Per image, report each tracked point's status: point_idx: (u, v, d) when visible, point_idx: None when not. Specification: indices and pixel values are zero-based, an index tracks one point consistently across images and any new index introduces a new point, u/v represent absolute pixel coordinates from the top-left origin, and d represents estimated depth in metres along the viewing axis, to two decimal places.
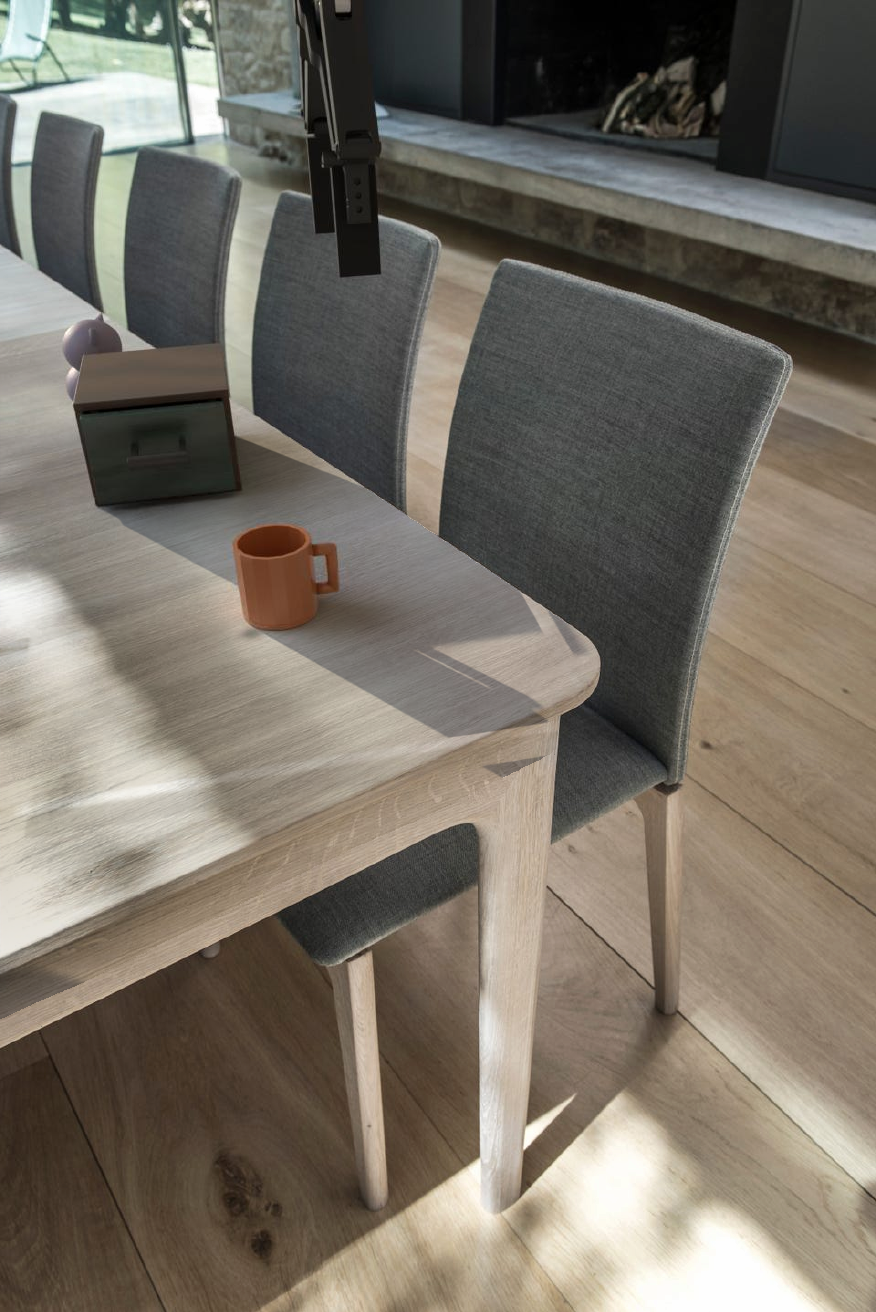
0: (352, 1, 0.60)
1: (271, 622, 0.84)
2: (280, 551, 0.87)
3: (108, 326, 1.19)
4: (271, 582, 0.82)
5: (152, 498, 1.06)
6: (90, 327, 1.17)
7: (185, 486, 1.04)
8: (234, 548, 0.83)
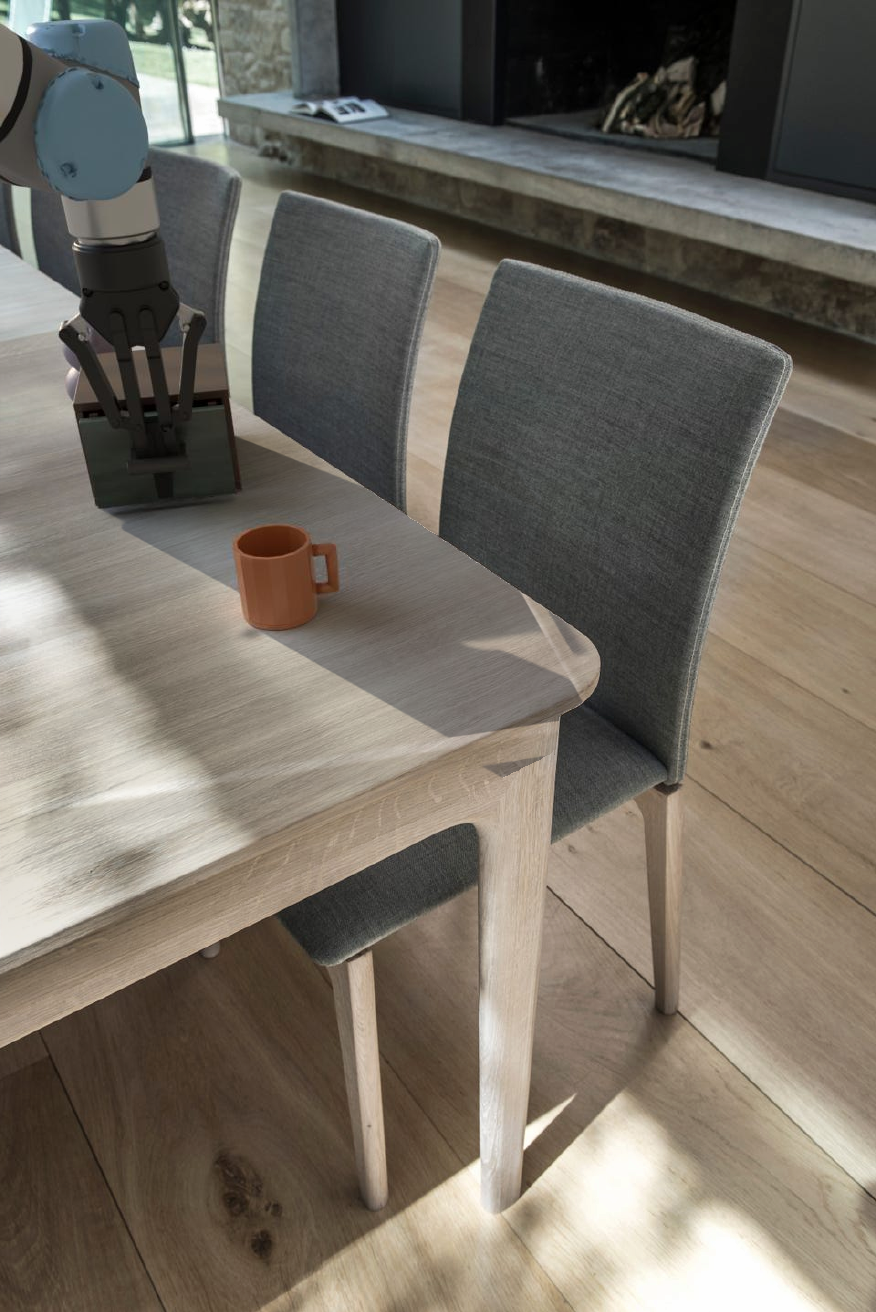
0: None
1: (271, 622, 0.84)
2: (280, 551, 0.87)
3: None
4: (271, 582, 0.82)
5: None
6: (90, 327, 1.17)
7: (185, 490, 1.03)
8: (234, 548, 0.83)
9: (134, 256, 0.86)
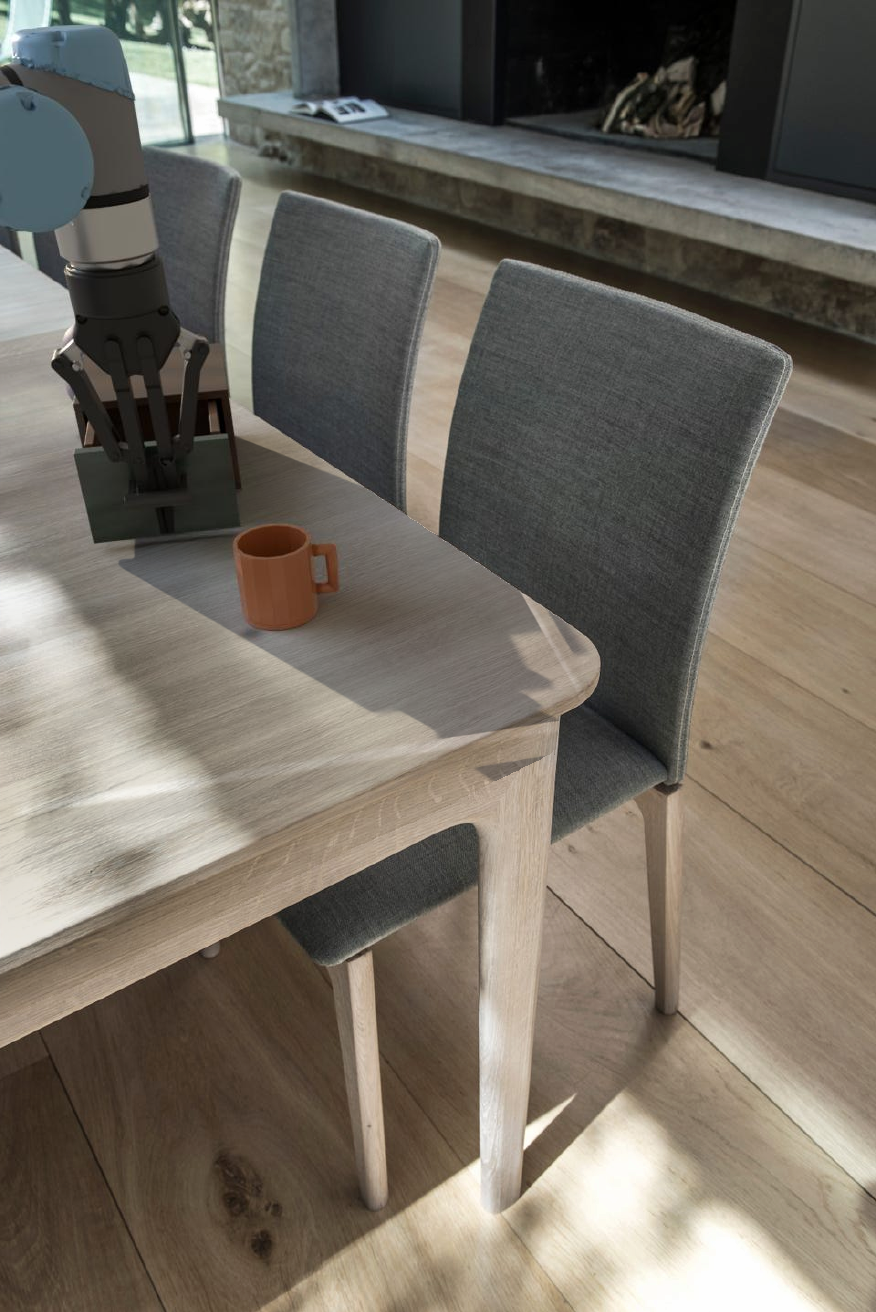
0: None
1: (271, 622, 0.84)
2: (280, 551, 0.87)
3: None
4: (271, 582, 0.82)
5: None
6: None
7: (186, 524, 0.97)
8: (234, 548, 0.83)
9: (131, 281, 0.80)
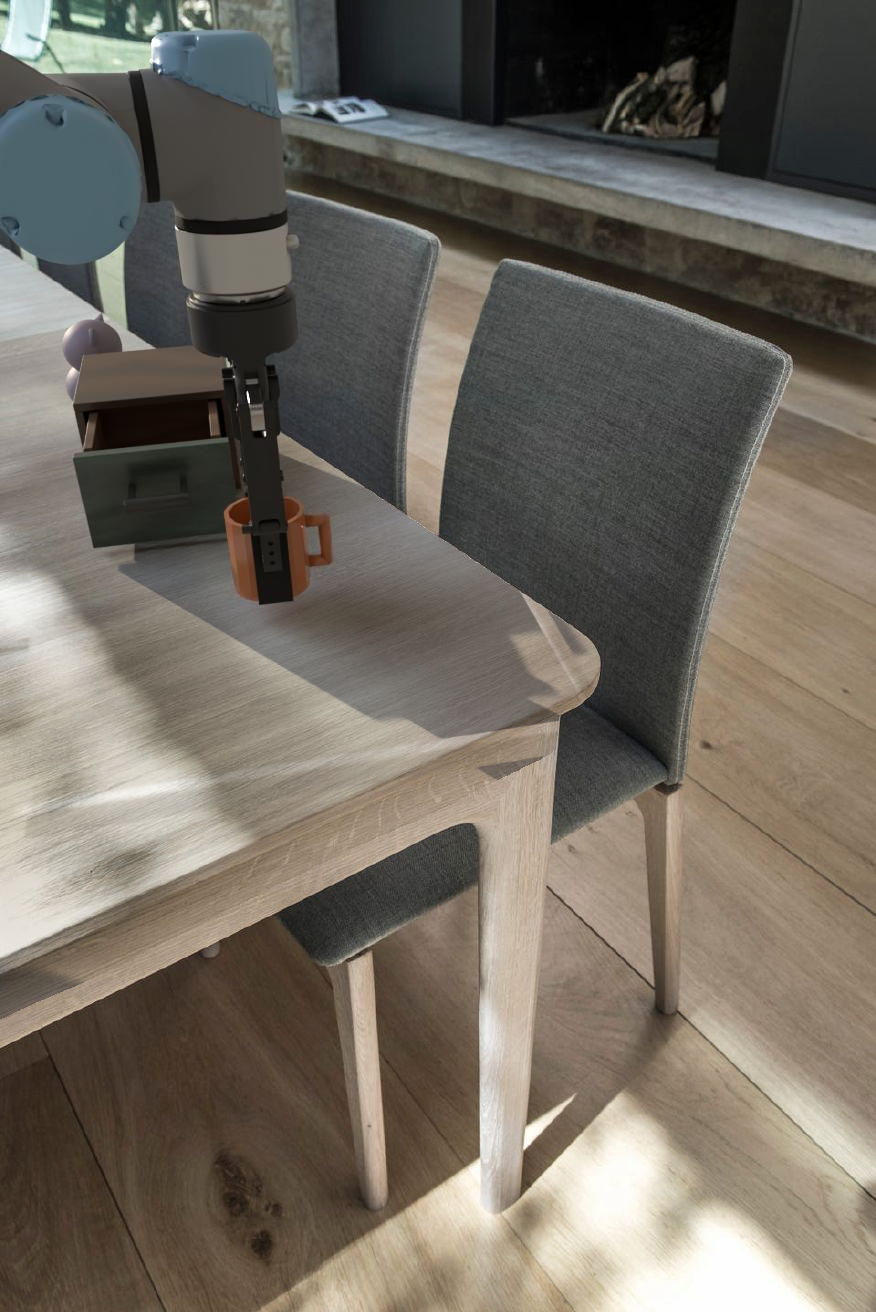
0: (266, 426, 0.72)
1: None
2: None
3: (108, 326, 1.19)
4: None
5: None
6: (90, 327, 1.17)
7: (187, 528, 0.96)
8: (225, 517, 0.81)
9: (191, 313, 0.72)
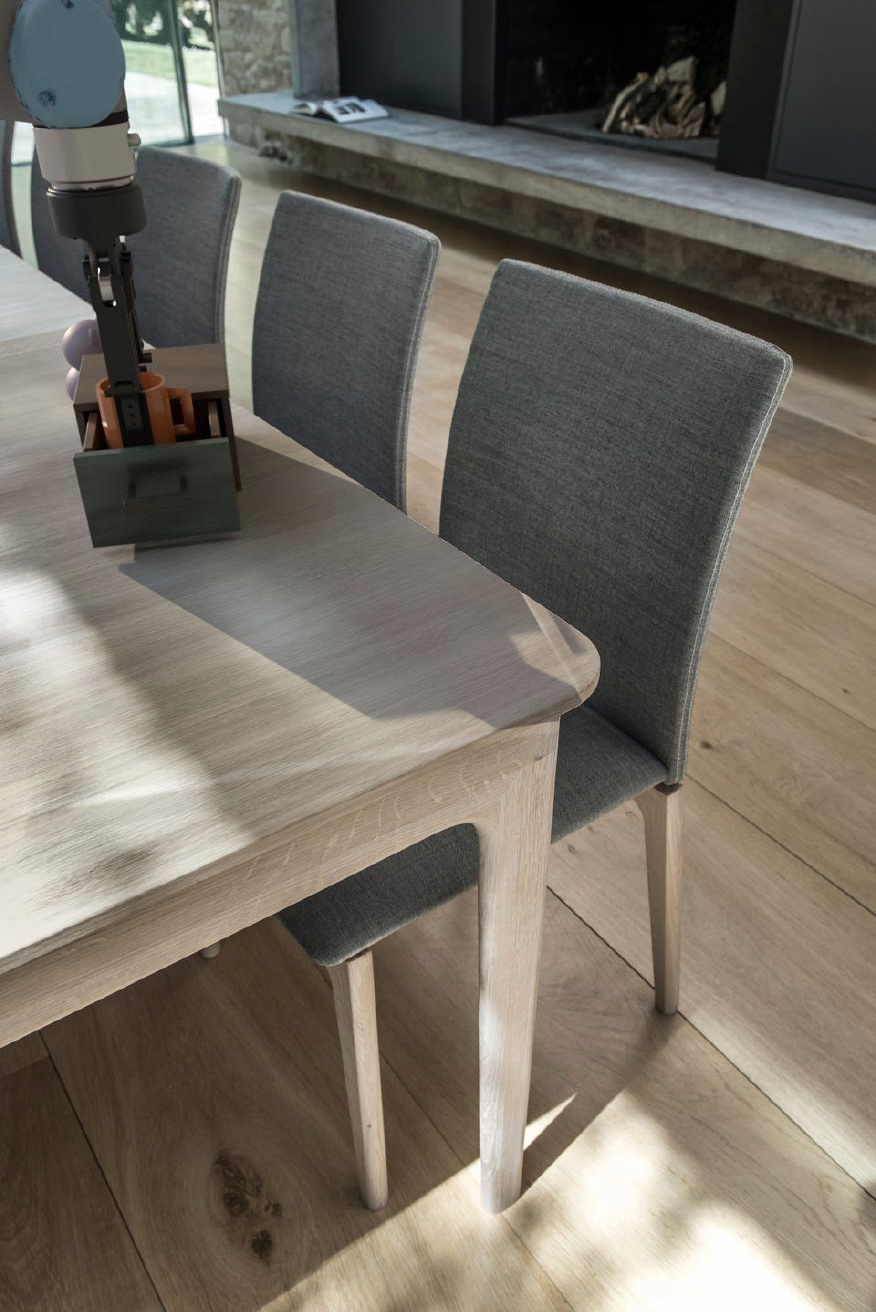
0: (114, 296, 0.85)
1: None
2: None
3: None
4: None
5: None
6: (90, 327, 1.17)
7: (187, 528, 0.96)
8: (96, 388, 0.94)
9: (49, 201, 0.85)
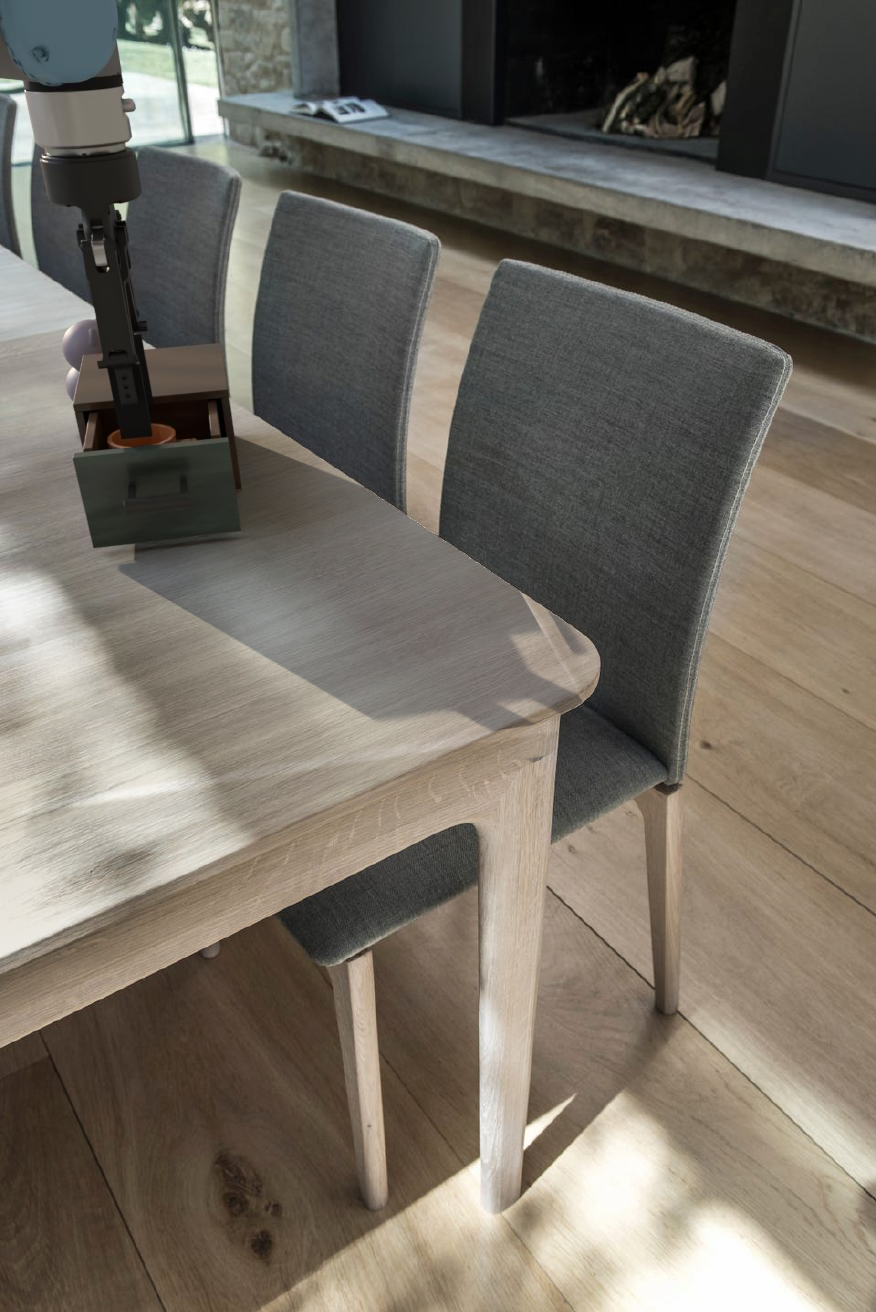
0: (108, 260, 0.83)
1: None
2: None
3: None
4: None
5: None
6: (90, 327, 1.17)
7: (187, 528, 0.96)
8: (108, 441, 0.97)
9: (42, 167, 0.83)
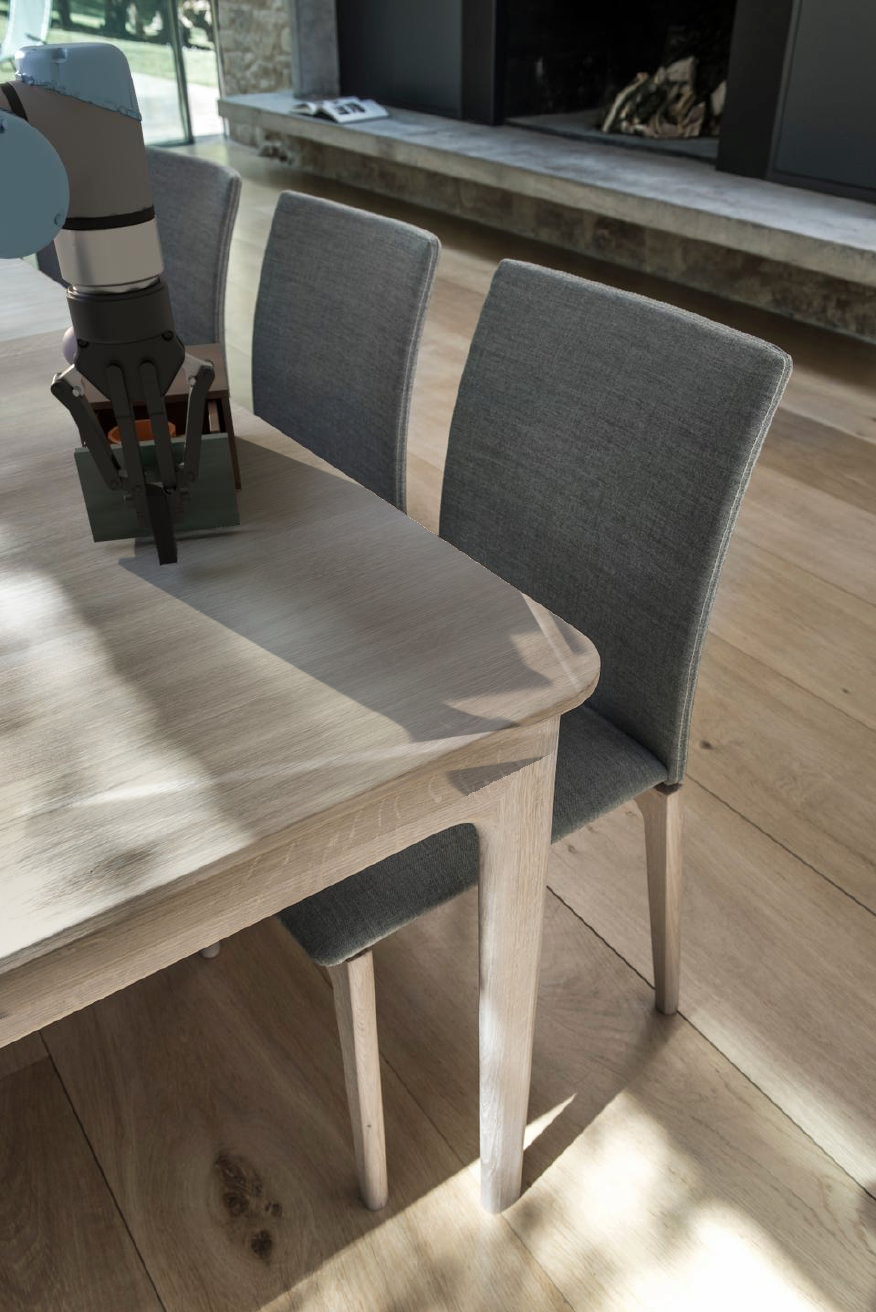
0: None
1: None
2: None
3: None
4: None
5: None
6: None
7: (186, 523, 0.97)
8: (109, 436, 0.98)
9: (135, 305, 0.77)
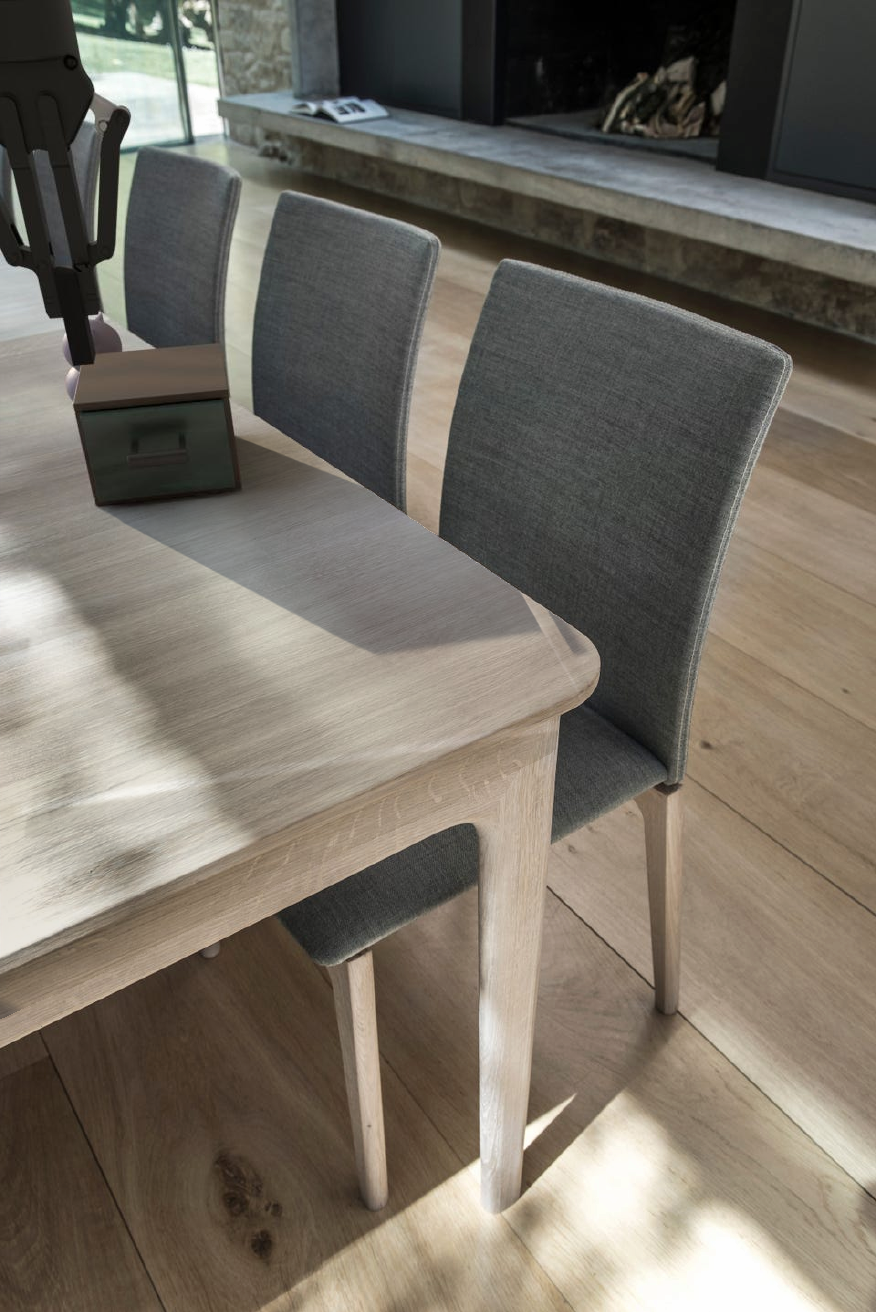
0: None
1: None
2: None
3: (108, 326, 1.19)
4: None
5: (152, 498, 1.06)
6: (90, 327, 1.17)
7: (185, 484, 1.05)
8: None
9: (25, 9, 0.64)
